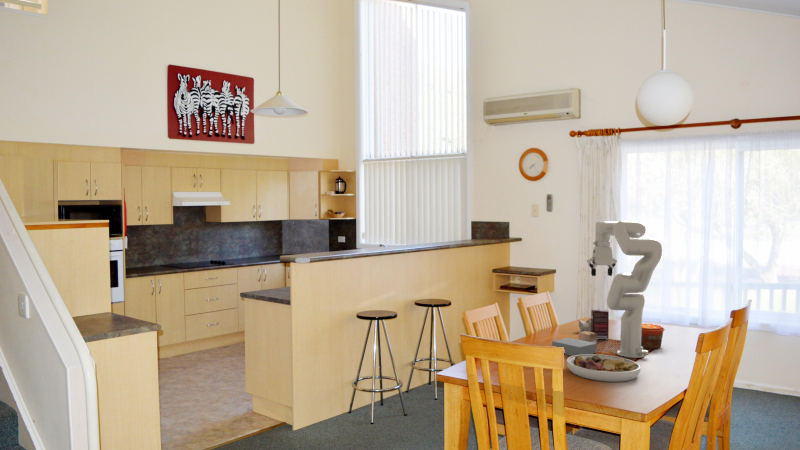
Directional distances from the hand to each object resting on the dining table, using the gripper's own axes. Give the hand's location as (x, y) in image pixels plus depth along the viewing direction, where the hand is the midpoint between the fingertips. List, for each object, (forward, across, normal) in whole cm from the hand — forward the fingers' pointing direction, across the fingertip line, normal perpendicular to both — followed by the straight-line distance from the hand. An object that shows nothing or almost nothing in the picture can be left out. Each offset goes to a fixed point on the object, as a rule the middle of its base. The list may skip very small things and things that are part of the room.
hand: (601, 275), depth 315 cm
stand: (+36, -28, -22) cm, 50 cm away
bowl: (+36, -34, -59) cm, 77 cm away
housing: (+36, -14, -10) cm, 40 cm away
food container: (+36, +18, -15) cm, 43 cm away
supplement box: (+36, +2, +5) cm, 36 cm away
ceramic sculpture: (+36, +6, +20) cm, 42 cm away
